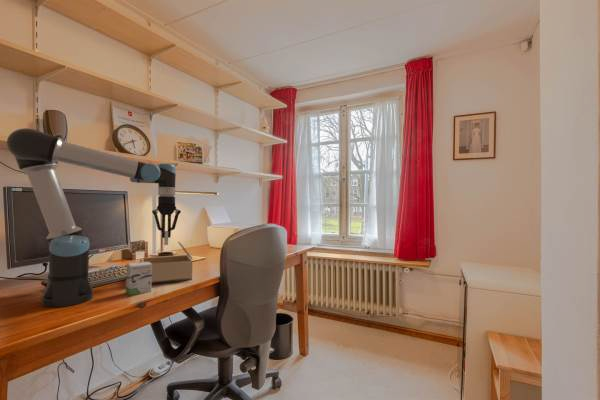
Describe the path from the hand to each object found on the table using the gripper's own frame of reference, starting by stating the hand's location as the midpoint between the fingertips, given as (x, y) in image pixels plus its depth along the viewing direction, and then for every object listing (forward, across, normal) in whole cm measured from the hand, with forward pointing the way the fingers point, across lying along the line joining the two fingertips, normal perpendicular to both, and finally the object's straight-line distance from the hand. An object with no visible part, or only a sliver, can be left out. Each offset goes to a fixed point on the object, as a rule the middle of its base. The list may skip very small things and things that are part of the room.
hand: (166, 244), depth 141 cm
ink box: (+17, -12, -18) cm, 27 cm away
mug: (+17, +2, +15) cm, 22 cm away
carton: (+16, -1, 0) cm, 16 cm away
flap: (+7, +11, 0) cm, 13 cm away
